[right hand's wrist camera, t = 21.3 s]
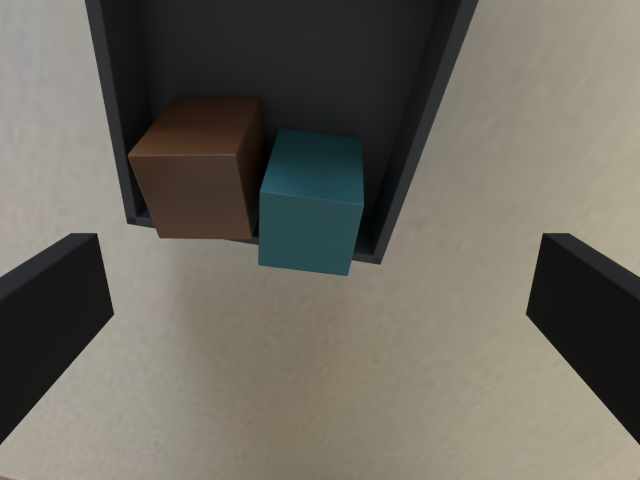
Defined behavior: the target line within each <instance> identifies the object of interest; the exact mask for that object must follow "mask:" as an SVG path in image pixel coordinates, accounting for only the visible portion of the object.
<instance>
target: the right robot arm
mask: <svg viewBox="0 0 640 480" xmlns="http://www.w3.org/2000/svg"><path fill="white" fill-rule="evenodd" d="M113 315H114V311H113V307H112V302H111V297H110V292H109V288H108V283H107V278H106V273H105V269H104V264H103V259H102V254H101V250H100V245H99V240H98V235H97V233H71V234H69V235H68V236H66V237H64V238H63V239H61V240H59V241H58V242H56V243H55V244H53V245H51V246H50V247H48V248H47V249H45V250H43V251H42V252H40V253H39V254H37V255H35V256H34V257H32V258H31V259H29V260H27V261H26V262H24V263H23V264H21V265H19V266H18V267H16V268H15V269H13V270H11V271H10V272H8V273H6V274H5V275H3V276H2V277H0V445H1V443H2V442H3V441H4V440H5V439H6V438H7V437H8V435H9V434H10V433H11V432H12V431H13V430H14V429H15V427H16V426H17V425H18V424H19V423H20V422H21V421H22V419H23V418H24V417H25V416H26V415H27V414H28V413H29V411H30V410H31V409H32V408H33V407H34V406H35V405H36V403H37V402H38V401H39V400H40V399H41V398H42V396H43V395H44V394H45V393H46V392H47V391H48V390H49V388H50V387H51V386H52V385H53V384H54V383H55V382H56V380H57V379H58V378H59V377H60V376H61V375H62V374H63V372H64V371H65V370H66V369H67V368H68V367H69V366H70V364H71V363H72V362H73V361H74V360H75V359H76V357H77V356H78V355H79V354H80V353H81V352H82V351H83V349H84V348H85V347H86V346H87V345H88V344H89V343H90V341H91V340H92V339H93V338H94V337H95V336H96V335H97V333H98V332H99V331H100V330H101V329H102V328H103V327H104V325H105V324H106V323H107V322H108V321H109V320H110V319H111V317H112V316H113ZM526 315H527V316H528V317H529V319H530V320H531V321H532V322H533V323H534V324H535V325H536V327H537V328H538V329H539V330H540V331H541V332H542V333H543V335H544V336H545V337H546V338H547V339H548V340H549V341H550V343H551V344H552V345H553V346H554V347H555V348H556V349H557V351H558V352H559V353H560V354H561V355H562V356H563V357H564V359H565V360H566V361H567V362H568V363H569V364H570V366H571V367H572V368H573V369H574V370H575V371H576V372H577V374H578V375H579V376H580V377H581V378H582V379H583V380H584V382H585V383H586V384H587V385H588V386H589V387H590V388H591V390H592V391H593V392H594V393H595V394H596V395H597V396H598V398H599V399H600V400H601V401H602V402H603V403H604V405H605V406H606V407H607V408H608V409H609V410H610V411H611V413H612V414H613V415H614V416H615V417H616V418H617V419H618V421H619V422H620V423H621V424H622V425H623V426H624V427H625V429H626V430H627V431H628V432H629V433H630V434H631V435H632V437H633V438H634V439H635V440H636V441H637V442H638V443H639V445H640V277H638V276H637V275H635V274H634V273H632V272H630V271H629V270H627V269H625V268H624V267H622V266H621V265H619V264H617V263H616V262H614V261H613V260H611V259H609V258H608V257H606V256H605V255H603V254H601V253H600V252H598V251H597V250H595V249H593V248H592V247H590V246H589V245H587V244H585V243H584V242H582V241H581V240H579V239H577V238H576V237H574V236H572V235H571V234H569V233H543V235H542V240H541V245H540V250H539V254H538V259H537V264H536V269H535V273H534V278H533V283H532V288H531V292H530V297H529V302H528V307H527V311H526Z"/></svg>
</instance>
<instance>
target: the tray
mask: <svg viewBox="0 0 640 480" xmlns="http://www.w3.org/2000/svg"><path fill="white" fill-rule="evenodd" d="M478 1H479V0H85V4H86V9H87V14H88V20H89V25H90V30H91V35H92V41H93V46H94V51H95V56H96V62H97V67H98V72H99V77H100V83H101V88H102V93H103V99H104V104H105V109H106V114H107V120H108V125H109V130H110V135H111V141H112V146H113V151H114V156H115V162H116V167H117V172H118V177H119V183H120V188H121V193H122V199H123V204H124V209H125V214H126V220H127V224H132V225H138V226H144V227H150V228H155V225H154V223H153V220H152V218H151V215H150V212H149V210H148V207H147V205H146V202H145V200H144V197H143V194H142V192H141V189H140V187H139V184H138V181H137V179H136V176H135V174H134V171H133V169H132V166H131V163H130V161H129V158H128V154H129V153H130V152H131V150H132V149H133V148H134V147H135V146H136V144H137V143H138V142H139V141H140V139H141V138H142V137H143V136H144V134H145V133H146V132H147V131H148V130H149V128H150V127H151V126H152V125H153V123H154V122H155V121H156V120H157V119H158V117H159V116H160V115H161V114H162V112H163V111H164V110H165V109H166V107H167V106H168V105H169V104H170V103H171V101H172V100H173V99H174V98H175V97H224V96H260V97H261V103H262V110H263V118H264V125H265V133H266V140H267V148H268V155H269V159H270V156H271V152H272V149H273V146H274V142H275V139H276V135H277V132H278V129H279V128H283V129H290V130H298V131H305V132H313V133H320V134H328V135H336V136H343V137H351V138H358V139H362V162H363V192H364V207H363V212H362V216H361V220H360V225H359V229H358V233H357V238H356V242H355V247H354V251H353V255H352V260H355V261H361V262H367V263H373V264H379V265H380V264H381V262H382V259H383V256H384V254H385V251H386V248H387V246H388V243H389V240H390V238H391V235H392V232H393V229H394V227H395V224H396V221H397V219H398V216H399V213H400V211H401V208H402V205H403V203H404V200H405V197H406V194H407V192H408V189H409V186H410V184H411V181H412V178H413V176H414V173H415V170H416V168H417V165H418V162H419V159H420V157H421V154H422V151H423V149H424V146H425V143H426V141H427V138H428V135H429V133H430V130H431V127H432V125H433V122H434V119H435V116H436V114H437V111H438V108H439V106H440V103H441V100H442V98H443V95H444V92H445V90H446V87H447V84H448V81H449V79H450V76H451V73H452V71H453V68H454V65H455V63H456V60H457V57H458V55H459V52H460V49H461V46H462V44H463V41H464V38H465V36H466V33H467V30H468V28H469V25H470V22H471V20H472V17H473V14H474V11H475V9H476V6H477V3H478ZM225 240H231V241H237V242H243V243H249V244H255V245H259V215H258V218H257V222H256V225H255V229H254V233H253V236H252V239H225Z"/></svg>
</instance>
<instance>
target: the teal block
mask: <svg viewBox="0 0 640 480" xmlns="http://www.w3.org/2000/svg"><path fill="white" fill-rule="evenodd" d="M363 207H364V192H363V162H362V139H358V138H351V137H343V136H336V135H328V134H320V133H313V132H305V131H298V130H290V129H283V128H279V129H278V132H277V135H276V139H275V142H274V146H273V149H272V152H271V156H270V159H269V162H268V166H267V169H266V172H265V176H264V179H263V183H262V186H261V189H260V204H259V256H258V264H259V265H261V266H269V267H277V268H286V269H294V270H302V271H310V272H318V273H326V274H335V275H343V276H347V275H348V273H349V268H350V264H351V260H352V255H353V251H354V247H355V242H356V238H357V233H358V229H359V225H360V220H361V216H362V212H363Z"/></svg>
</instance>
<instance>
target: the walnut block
mask: <svg viewBox="0 0 640 480" xmlns="http://www.w3.org/2000/svg"><path fill="white" fill-rule="evenodd" d="M128 158H129V161H130V163H131V166H132V169H133V171H134V174H135V176H136V179H137V181H138V184H139V187H140V189H141V192H142V194H143V197H144V200H145V202H146V205H147V207H148V210H149V212H150V215H151V218H152V220H153V223H154V225H155V228H156V231H157V233H158V236H159V238H178V239H252V236H253V233H254V229H255V225H256V222H257V218H258V215H259V204H260V189H261V186H262V183H263V179H264V176H265V172H266V169H267V166H268V162H269V155H268V148H267V140H266V133H265V125H264V118H263V110H262V103H261V97H260V96H224V97H175V98H174V99H173V100H172V101H171V103H170V104H169V105H168V106H167V107H166V109H165V110H164V111H163V112H162V114H161V115H160V116H159V117H158V119H157V120H156V121H155V122H154V123H153V125H152V126H151V127H150V128H149V130H148V131H147V132H146V133H145V134H144V136H143V137H142V138H141V139H140V141H139V142H138V143H137V144H136V146H135V147H134V148H133V149H132V150H131V152H130V153H129V154H128Z"/></svg>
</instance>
